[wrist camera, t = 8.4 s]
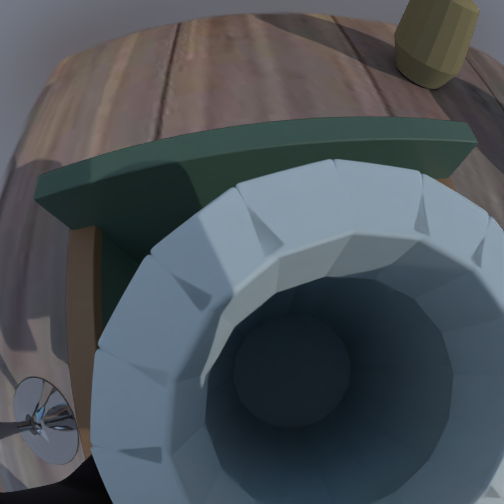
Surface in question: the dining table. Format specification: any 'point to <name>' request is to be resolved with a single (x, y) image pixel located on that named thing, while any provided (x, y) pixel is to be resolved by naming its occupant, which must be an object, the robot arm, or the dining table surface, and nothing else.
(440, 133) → the cubby cabinet
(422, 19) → the squeeze bottle
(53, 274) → the dining table surface
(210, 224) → the storage jar
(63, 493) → the robot arm
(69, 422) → the wine glass
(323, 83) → the dining table surface
